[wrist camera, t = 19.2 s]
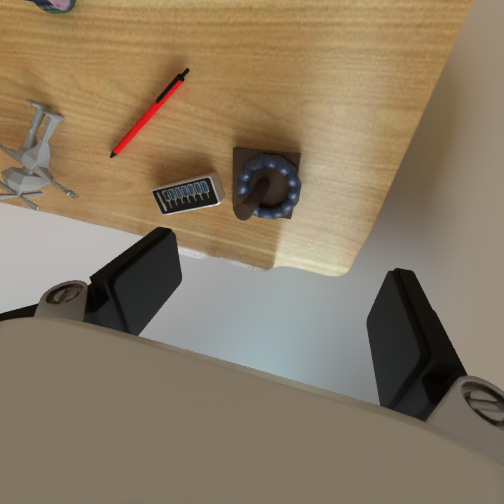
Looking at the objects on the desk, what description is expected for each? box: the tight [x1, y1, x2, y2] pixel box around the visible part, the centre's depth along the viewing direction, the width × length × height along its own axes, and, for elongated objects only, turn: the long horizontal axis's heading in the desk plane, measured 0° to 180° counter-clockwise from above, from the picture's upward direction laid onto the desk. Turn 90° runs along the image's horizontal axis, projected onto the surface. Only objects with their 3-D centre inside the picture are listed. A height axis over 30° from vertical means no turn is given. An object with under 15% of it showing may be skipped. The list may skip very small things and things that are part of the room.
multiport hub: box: [151, 172, 225, 215], centre depth 37 cm, size 4×11×2 cm, turn 106°
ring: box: [237, 154, 301, 219], centre depth 33 cm, size 9×9×2 cm
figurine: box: [0, 99, 79, 211], centre depth 39 cm, size 18×8×16 cm
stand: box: [233, 147, 301, 221], centre depth 30 cm, size 9×9×11 cm
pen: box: [110, 68, 189, 158], centre depth 33 cm, size 1×19×1 cm, turn 126°
